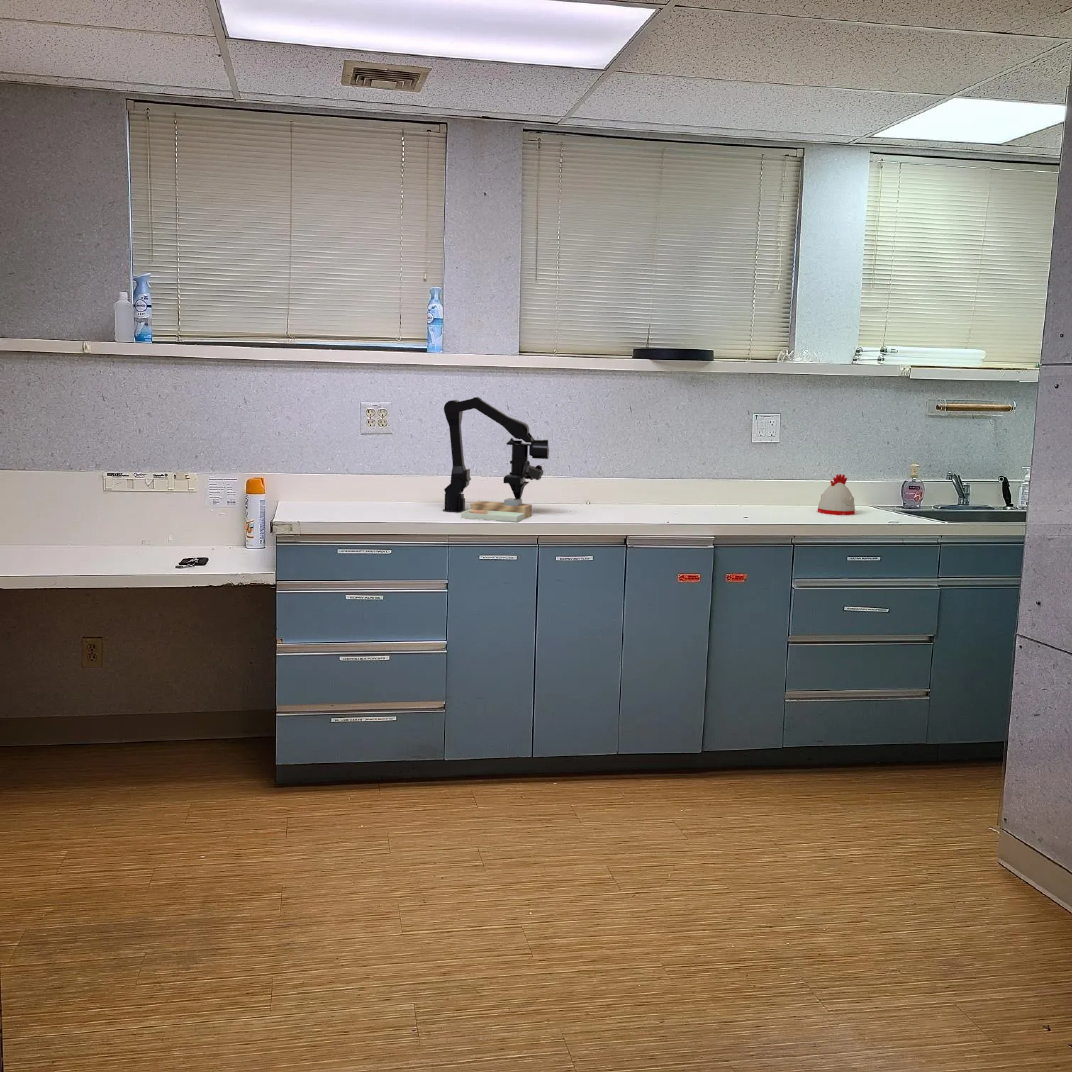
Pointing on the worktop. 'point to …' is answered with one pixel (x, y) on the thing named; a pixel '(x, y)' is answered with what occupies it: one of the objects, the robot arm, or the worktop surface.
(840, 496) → the kitchen timer
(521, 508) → the oak board
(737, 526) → the worktop surface
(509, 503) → the slate tile
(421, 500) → the worktop surface
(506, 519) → the tray
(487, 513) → the terracotta tile
